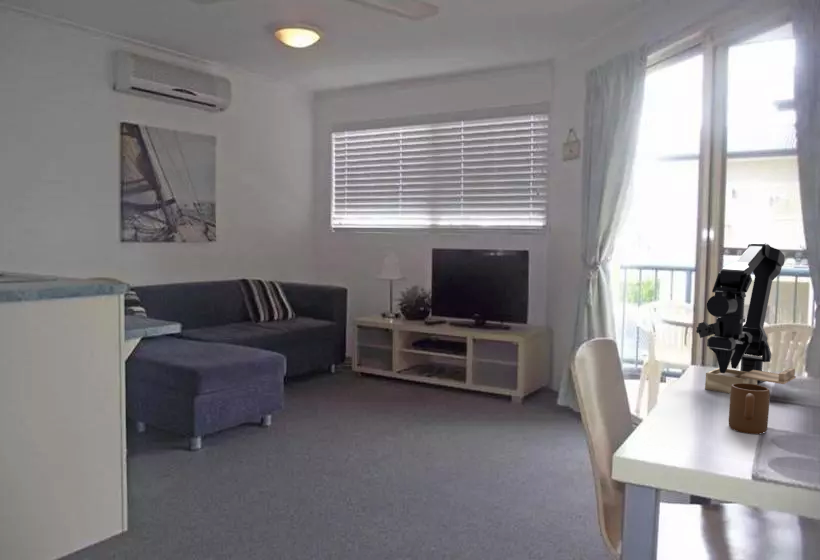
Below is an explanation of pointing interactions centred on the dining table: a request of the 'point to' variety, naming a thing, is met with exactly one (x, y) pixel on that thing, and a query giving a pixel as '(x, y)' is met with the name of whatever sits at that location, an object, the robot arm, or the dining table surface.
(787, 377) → the lid
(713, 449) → the dining table surface
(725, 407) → the dining table surface
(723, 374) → the block
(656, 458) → the dining table surface
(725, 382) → the wooden box
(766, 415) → the mug
